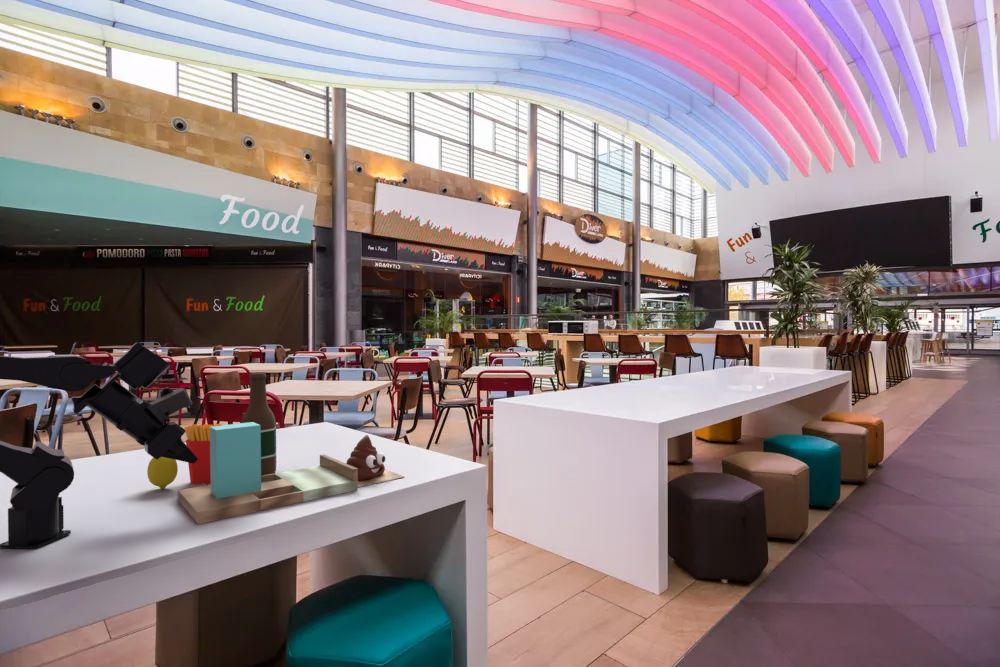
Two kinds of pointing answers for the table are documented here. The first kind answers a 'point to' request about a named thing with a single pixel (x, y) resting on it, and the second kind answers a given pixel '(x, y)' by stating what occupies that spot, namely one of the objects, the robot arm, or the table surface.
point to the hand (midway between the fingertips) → (195, 461)
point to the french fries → (199, 452)
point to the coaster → (380, 478)
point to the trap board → (273, 491)
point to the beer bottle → (262, 422)
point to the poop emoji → (366, 460)
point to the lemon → (162, 471)
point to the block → (235, 459)
